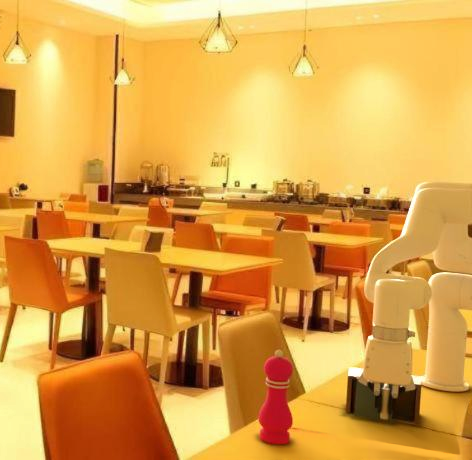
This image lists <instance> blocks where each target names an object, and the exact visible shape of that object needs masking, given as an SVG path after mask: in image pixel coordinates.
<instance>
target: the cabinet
mask: <svg viewBox="0 0 472 460" xmlns="http://www.w3.org/2000/svg"><path fill="white" fill-rule="evenodd" d="M362 371H363V368H358V367H349V370H348V374H347V383H346V384H347V385H346V400H345V402H346V403H345V413H348V414H352V415H355V411H353V401H354V386H355V385H356V384H357V377H360V375H361V373H362ZM421 376H422V375H413V374H412V378H413V381H414V384H415V389H414V390H410V391H405V392H403V393H402V394H400V395H399V396H398V397H397V398H396V407H395V411H393V412H392V421H393V420H394V421H398V422H399V421H400V422H407V423H412V424H420V413H421V411H420V410H421V398H422V386H423V385H422V384H421ZM399 386H401V385H399Z"/></svg>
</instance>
